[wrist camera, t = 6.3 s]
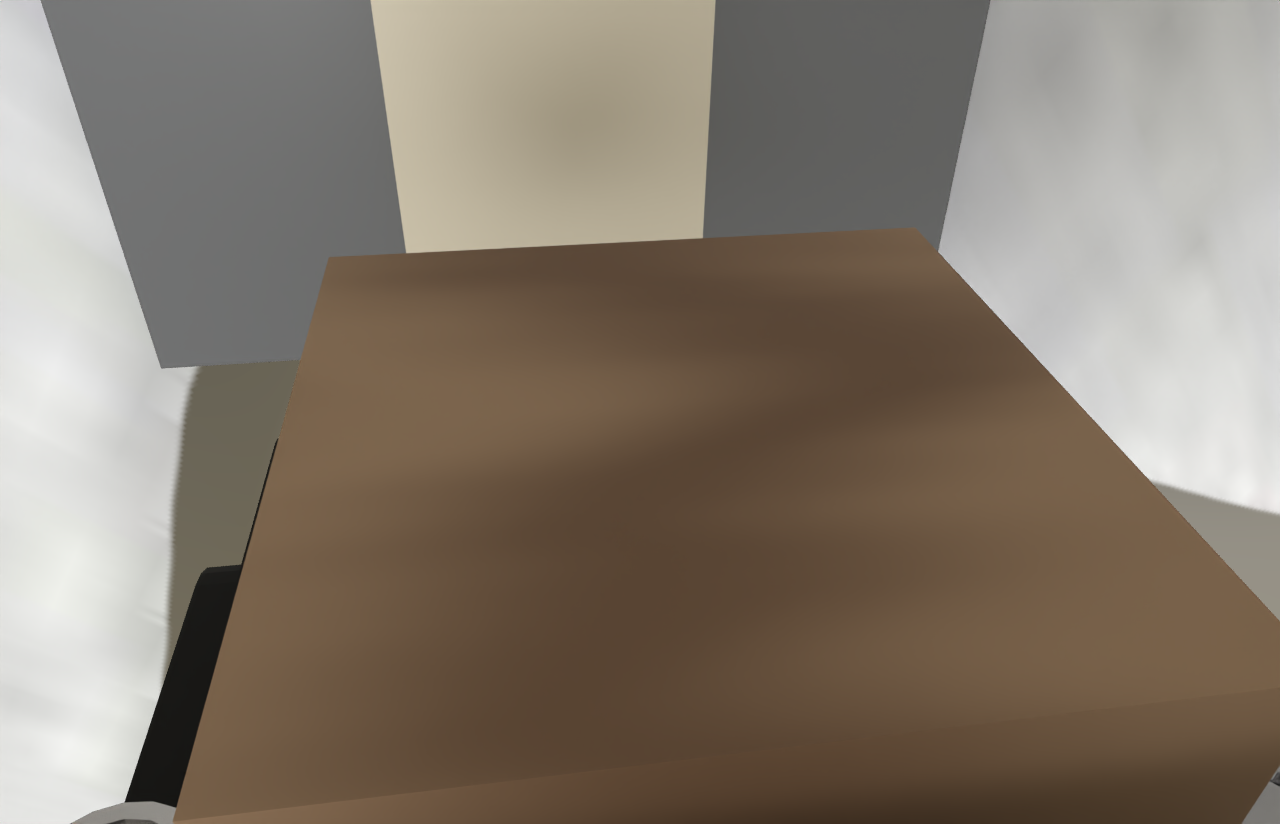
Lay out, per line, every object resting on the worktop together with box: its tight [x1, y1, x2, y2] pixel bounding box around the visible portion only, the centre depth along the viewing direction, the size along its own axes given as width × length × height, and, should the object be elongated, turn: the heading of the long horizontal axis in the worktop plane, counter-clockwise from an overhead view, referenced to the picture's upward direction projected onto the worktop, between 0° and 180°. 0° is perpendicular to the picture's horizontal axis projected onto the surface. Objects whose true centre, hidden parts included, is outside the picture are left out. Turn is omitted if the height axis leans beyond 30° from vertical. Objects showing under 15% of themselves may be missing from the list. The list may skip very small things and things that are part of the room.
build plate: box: [41, 0, 990, 368], centre depth 24 cm, size 22×14×2 cm, turn 89°
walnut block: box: [173, 227, 1280, 824], centre depth 9 cm, size 6×6×6 cm
